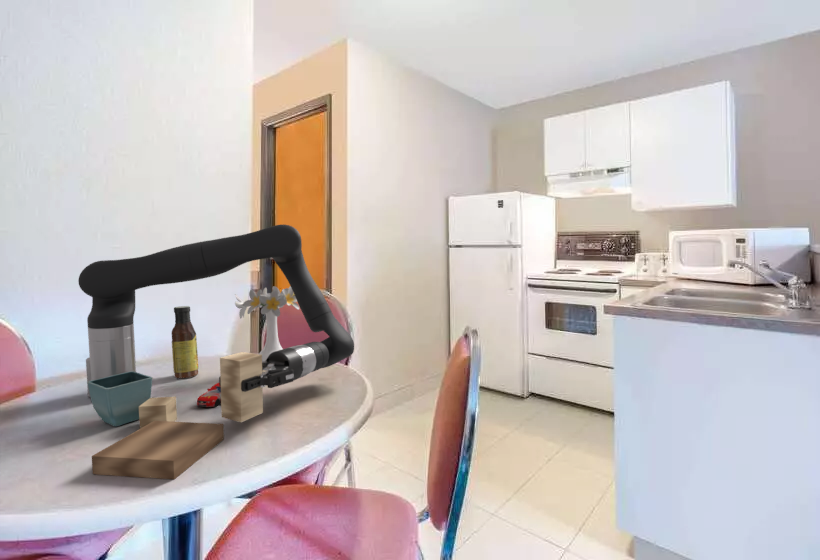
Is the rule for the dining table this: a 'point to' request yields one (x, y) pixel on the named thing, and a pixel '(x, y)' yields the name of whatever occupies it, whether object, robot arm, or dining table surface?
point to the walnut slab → (158, 450)
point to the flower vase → (268, 313)
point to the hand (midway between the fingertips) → (231, 384)
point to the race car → (210, 397)
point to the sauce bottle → (184, 344)
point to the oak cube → (157, 410)
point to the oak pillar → (232, 397)
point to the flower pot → (120, 396)
